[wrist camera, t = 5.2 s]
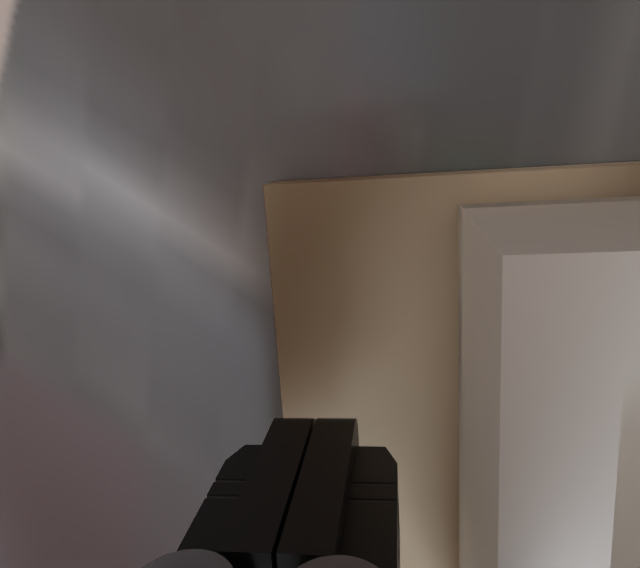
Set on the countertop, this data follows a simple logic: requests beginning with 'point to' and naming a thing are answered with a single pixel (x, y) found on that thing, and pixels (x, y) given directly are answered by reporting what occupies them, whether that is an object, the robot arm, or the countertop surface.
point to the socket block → (549, 383)
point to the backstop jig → (394, 315)
